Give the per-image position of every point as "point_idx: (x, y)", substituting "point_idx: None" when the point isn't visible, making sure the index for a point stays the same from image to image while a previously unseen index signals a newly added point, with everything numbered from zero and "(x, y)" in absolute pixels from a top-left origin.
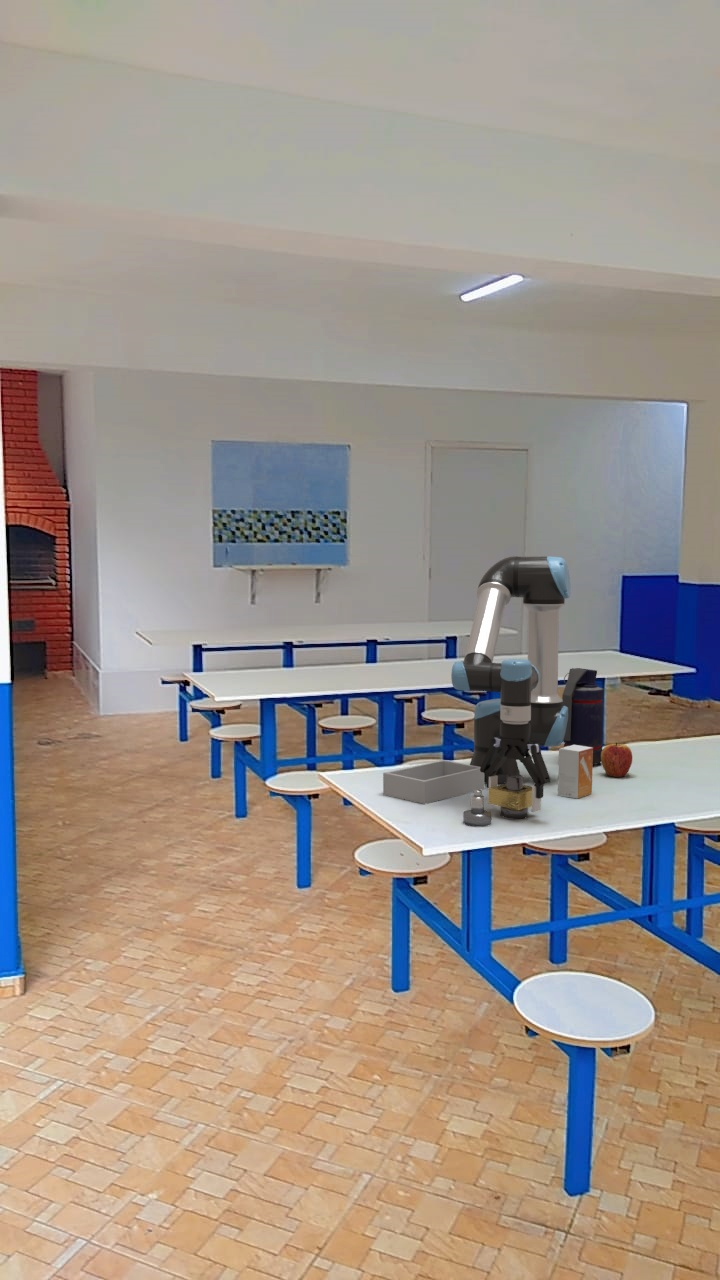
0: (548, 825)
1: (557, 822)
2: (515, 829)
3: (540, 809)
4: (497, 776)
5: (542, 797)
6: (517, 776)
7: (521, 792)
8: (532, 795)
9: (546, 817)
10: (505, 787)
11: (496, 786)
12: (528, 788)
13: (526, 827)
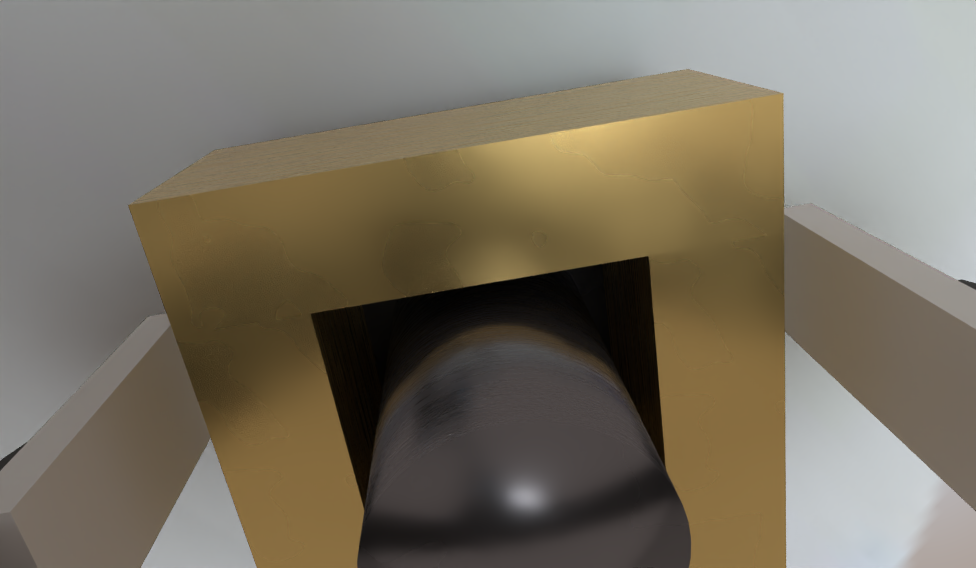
0: (924, 248)
1: (932, 96)
2: (795, 536)
3: (813, 207)
4: (18, 503)
5: (964, 283)
6: (574, 534)
7: (759, 513)
8: (890, 419)
9: (736, 41)
10: (355, 467)
11: (272, 562)
12: (661, 270)
13: (821, 438)
